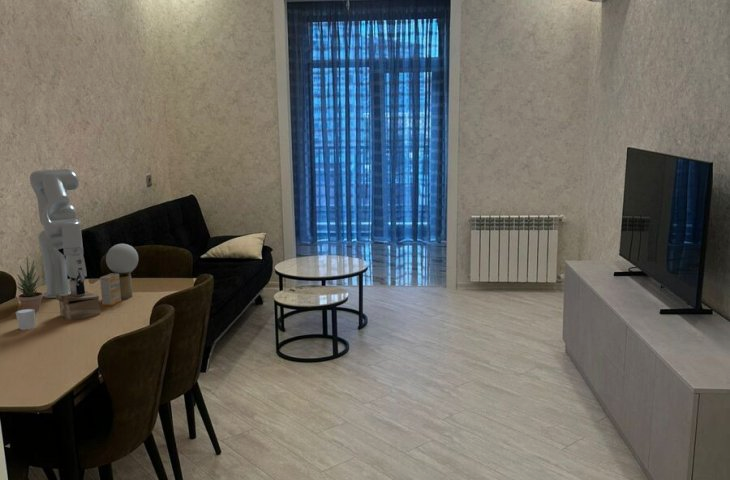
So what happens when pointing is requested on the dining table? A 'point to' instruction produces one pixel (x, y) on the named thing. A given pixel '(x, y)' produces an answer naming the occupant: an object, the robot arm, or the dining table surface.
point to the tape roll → (74, 288)
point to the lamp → (123, 266)
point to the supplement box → (110, 289)
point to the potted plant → (29, 290)
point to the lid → (75, 297)
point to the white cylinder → (26, 318)
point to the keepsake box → (80, 309)
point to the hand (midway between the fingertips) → (78, 292)
